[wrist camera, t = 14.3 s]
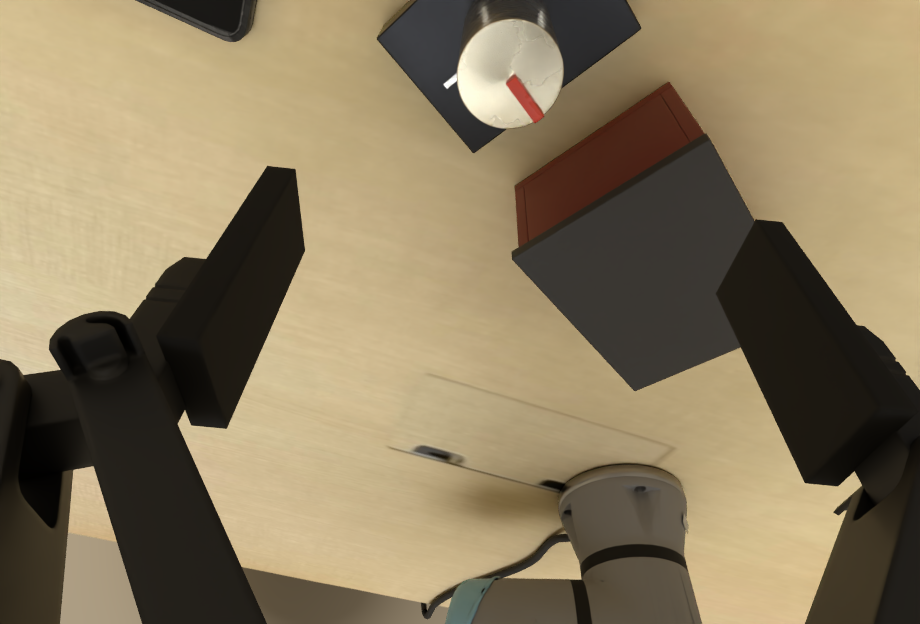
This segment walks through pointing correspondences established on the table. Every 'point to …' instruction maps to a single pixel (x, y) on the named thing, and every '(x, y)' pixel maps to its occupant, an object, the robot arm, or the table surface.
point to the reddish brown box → (604, 161)
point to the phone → (211, 15)
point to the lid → (648, 265)
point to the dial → (509, 62)
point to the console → (439, 39)
